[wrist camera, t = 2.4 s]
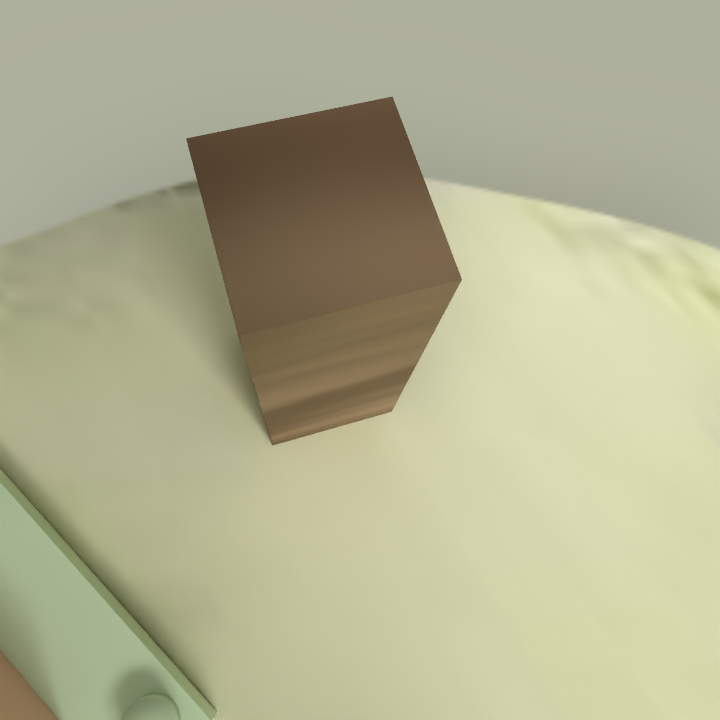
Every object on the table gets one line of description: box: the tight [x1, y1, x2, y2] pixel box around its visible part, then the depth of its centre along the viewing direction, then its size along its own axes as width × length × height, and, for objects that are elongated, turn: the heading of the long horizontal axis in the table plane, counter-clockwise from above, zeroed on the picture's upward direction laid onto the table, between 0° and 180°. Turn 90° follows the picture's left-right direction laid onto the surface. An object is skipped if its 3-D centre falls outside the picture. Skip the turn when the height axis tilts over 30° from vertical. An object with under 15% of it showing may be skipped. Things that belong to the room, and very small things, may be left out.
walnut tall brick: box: [187, 97, 462, 445], centre depth 18 cm, size 4×4×12 cm
